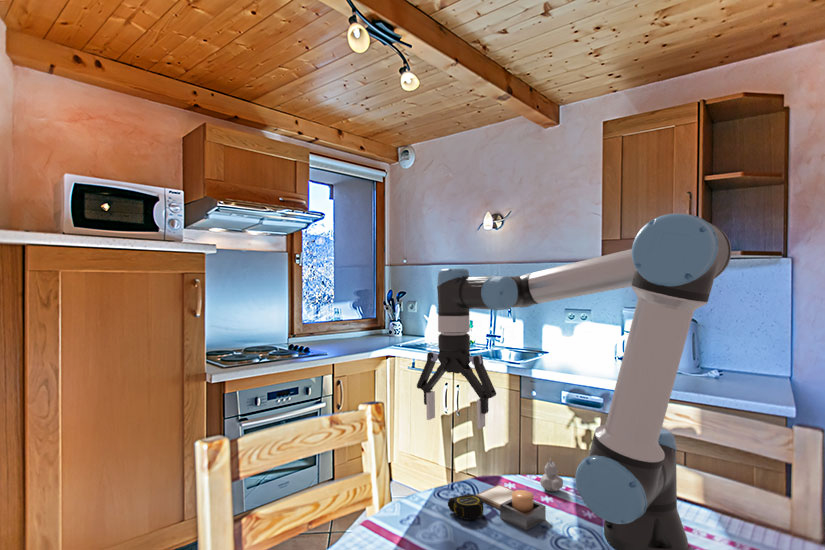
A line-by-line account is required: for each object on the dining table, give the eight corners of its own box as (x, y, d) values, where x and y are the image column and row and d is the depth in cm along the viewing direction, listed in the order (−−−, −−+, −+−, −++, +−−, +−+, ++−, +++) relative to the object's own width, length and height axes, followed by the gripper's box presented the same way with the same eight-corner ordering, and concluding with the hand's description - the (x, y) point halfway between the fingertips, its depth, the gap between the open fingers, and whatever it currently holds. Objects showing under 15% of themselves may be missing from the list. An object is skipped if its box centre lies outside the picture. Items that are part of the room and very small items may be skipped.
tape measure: (473, 506, 109) (473, 490, 109) (489, 519, 102) (489, 502, 102) (447, 512, 106) (447, 495, 106) (462, 526, 100) (462, 508, 100)
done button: (537, 508, 102) (537, 495, 102) (525, 515, 99) (525, 501, 99) (520, 501, 106) (520, 488, 106) (507, 507, 103) (507, 494, 103)
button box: (545, 519, 102) (545, 505, 102) (526, 530, 97) (526, 516, 97) (519, 508, 107) (519, 495, 107) (500, 518, 103) (500, 504, 103)
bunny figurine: (556, 484, 120) (556, 453, 120) (568, 496, 113) (568, 463, 113) (536, 486, 119) (536, 454, 119) (547, 497, 112) (547, 464, 112)
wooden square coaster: (528, 499, 111) (528, 496, 111) (505, 512, 105) (505, 508, 105) (499, 487, 118) (499, 483, 118) (475, 498, 112) (475, 494, 112)
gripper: (509, 334, 106) (510, 427, 106) (418, 329, 120) (419, 411, 120) (496, 337, 100) (497, 436, 100) (402, 332, 114) (403, 418, 114)
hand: (455, 423), depth 110 cm, fingers open, 13 cm apart
